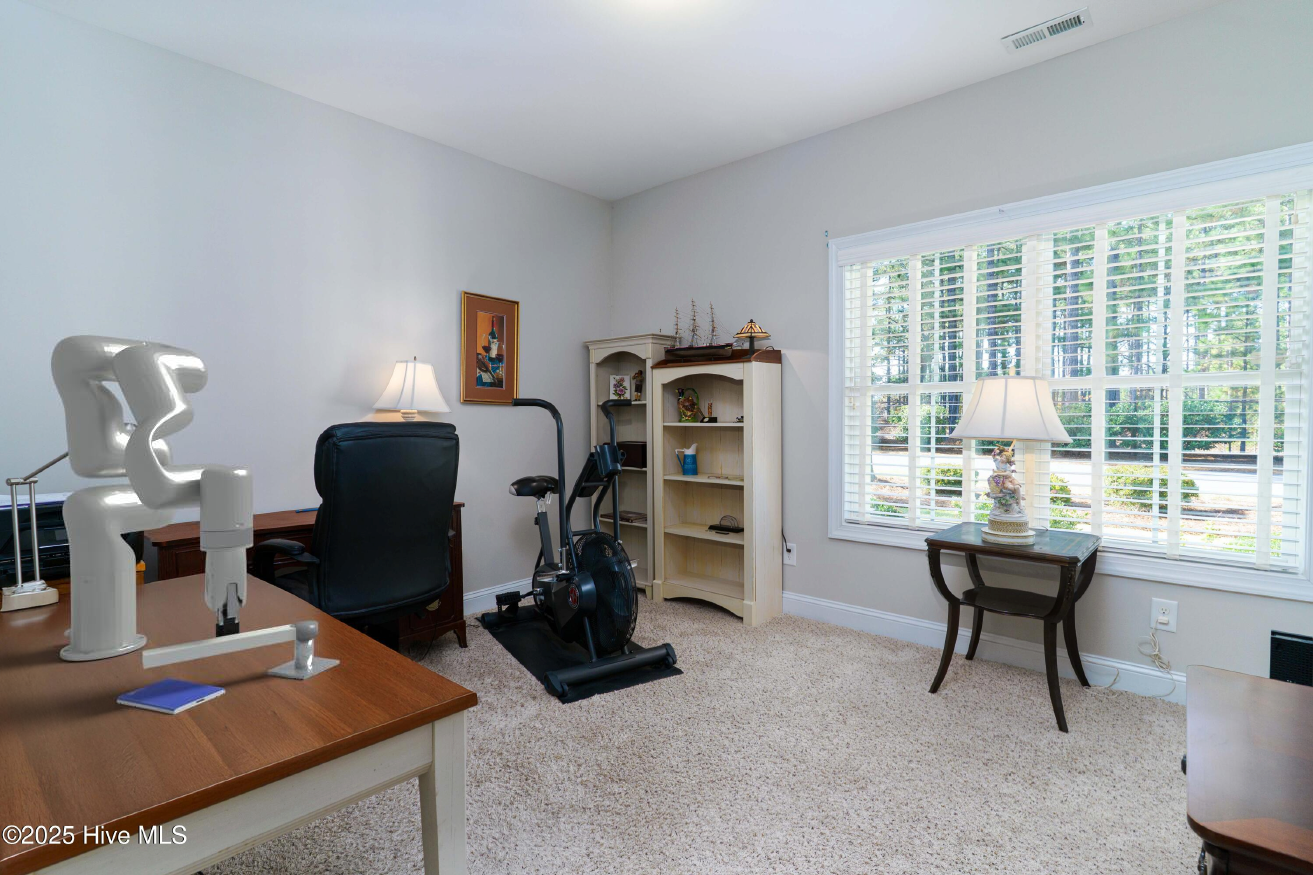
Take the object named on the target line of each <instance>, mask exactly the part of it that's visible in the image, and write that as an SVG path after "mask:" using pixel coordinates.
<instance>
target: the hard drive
mask: <svg viewBox="0 0 1313 875" xmlns="http://www.w3.org/2000/svg"><path fill="white" fill-rule="evenodd" d="M223 693H224V694H225V693H226V688H223V687H219V686H213V685H208V684H203V683H199V682H198V683H197V682H193V681H187V680H182V679H175V678H169V677H168V678H165V679H162V680H160V681H157V682H154V683H151V684H149V685H146V686H143V687H140V688H138V689H134V690H132V691H129V692H126V693H124V694H121V695H119V696H118V697H117V698H116V699H117V700H116V703H117V704H120V703H121V704H122V705H127V706H131V707H135V706H136V707H135V708H141V709H145V710H151V711H157V712H161V713H166V714H170V715H175V714H178V713H180V712H183V711H185V710H187V709H190V708H193V707H195V706H197V705H200V704H203V703H204V702H208V701H209V700H212V699H214V698H216V696H217V697H219V696H221V694H222V695H224V694H223ZM121 704H120V705H121Z"/></svg>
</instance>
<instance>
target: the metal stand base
mask: <svg viewBox="0 0 1313 875" xmlns="http://www.w3.org/2000/svg"><path fill="white" fill-rule="evenodd" d="M314 637H315V636H314ZM314 637H312V638H307V639H299V640H293V641H294V655H293V656H294V659H293V660H290V661H288V662H285V663H283V664H281V665H279V666H276V667H273V668H271V669H268V670H267V671H266V675H269V676H274V675H275V677H281V678H289V679H294V678H296V680H301V679H303V680H302V681H305V680H307V679H309V678H311V677H313V676H316V675H317V674H320V673H322V672H324V671H326V670H328V669H331V668H333V667H335V666H337V665H339V664H340V659H334V658H326V657H319V656H314V655H315V654H314V652H315V651H314V650H315V649H314V648H315V647H314V646H315V645H314V642H315V641H314Z"/></svg>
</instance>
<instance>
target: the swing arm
mask: <svg viewBox="0 0 1313 875" xmlns="http://www.w3.org/2000/svg"><path fill="white" fill-rule="evenodd" d="M318 635H319V622H318V621H317V620H302V621H296V622H294V623H290V624H286V625H279V626H273V627H269V628H263V629H258V630H252V631H245V632H241V633H240V632H239V634H234V635H228V636H222V637H217V638H216V637H212V638H207V639H206V638H205V639H201V640H196V641H195V640H194V641H188V642H185V643H177V644H173V645H167V646H162V647H156V648H150V649H145V650H142V656H141V657H142V658H141V659H142V661H141V662H142V667H143V670H145V669H150V668H151V669H152V668H154V667H155V668H156V667H160V666H166V665H170V664H175V663H182V662H186V661H192V660H198V659H203V658H207V657H212V656H217V655H223V654H229V653H233V652H237V651H238V652H239V651H244V650H248V649H253V648H254V649H255V648H259V647H264V646H265V647H266V646H269V645H275V644H280V643H284V642H285V643H286V642H289V641H290V642H291V641H294V640H299V639H307V638H312V637H316V636H318Z"/></svg>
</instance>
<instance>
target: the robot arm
mask: <svg viewBox="0 0 1313 875" xmlns="http://www.w3.org/2000/svg"><path fill="white" fill-rule="evenodd" d="M50 371H51V376H52V379H53V382H54V385H55V387H56V390H57V392H58V394H59V397H60V399H61V401H62V405H63V409H64V417H65V418H64V419H65V421H64V422H65V428H66V429H65V430H66V431H65V432H66V442H67V453H68V459H69V465H70V468H71V470H72V472H73V473H74V475H76V476H77V477H79V478H82V479H88V480H89V479H92V480H93V479H116V478H117V479H118V478H128V480H129V483H128V484H127V483H126V484H123V483H120V484H108V485H107V484H106V485H95V486H88V487H84V488H80V489H78V490H76V491H74V492H72V493H71V494H69V495H68V496H67V497H66V498H65V500H64V502H63V504H62V518H63V522H64V526H65V529H66V534H67V539H68V544H69V546H68V547H69V561H70V569H69V570H70V572H69V573H70V620H71V621H70V623H71V624H70V628H69V629H66V630H65V631H64V633H63V635H64V637H66V638H69V639H70V640H69V641H70V644H68V645H66V646H64V647H63V648H62V649H61V650H60V651H59V652H60V653H59V657H60V658H61V659H62V660H65V661H72V662H73V661H74V662H81V661H94V660H101V659H107V658H111V657H116V656H121V655H124V654H127V653H131V652H134V651H136V650H138V649H140V648H142V647H144V646H145V645H146V644H147V636H145V635H144V634H141V633H137V571H136V570H137V566H136V564H137V563H136V555H135V552H134V550H133V549H132V547H131V546H130V545H129V544H128V543H127V542H126V541H125V540H124V539H123V537H122V535H121V534H128V533H133V532H140V531H141V532H142V531H148V530H149V531H150V530H155V529H161V528H164V527H166V526H168V525H170V524H171V523H172V522H173V520H174V519H175V517H176V514H177V510H182V509H192V508H193V509H194V508H199V514H200V515H199V532H200V534H199V537H200V538H199V541H200V543H199V544H200V546H199V550H200V551H201V552H206V558H205V573H204V574H205V578H204V579H205V580H204V582H205V583H204V602H205V604H206V605H207V607H208V608H209V610H211V611H212V612H216V618H215V619H216V623H215V638H217V637H222V636H228V635H234V634H239V633H240V621H239V620H240V608H242V607H244V606H245V605H246V603H247V587H248V586H247V584H248V583H247V549H249V548H251V547H253V546H254V482H253V481H254V478H253V472H252V470H251V469H250V468H248V467H245V466H232V465H231V466H228V465H225V464H220V463H199V464H196V463H193V464H191V463H189V464H174V456H173V451H172V447H171V445H170V443H169V441H168V439H167V437H169V436H172V435H174V434H176V433H179V432H180V431H182V430H184V429H185V428H187V427H188V426H189V425H190V424H191V423H192V422H193V420H194V418H195V412H194V409H193V407H192V405H191V403H190V401H189V399H188V396H187V395H186V394H195V393H199V392H200V391H202V390H203V389H204V388H205V387H206V385H207V383H208V379H209V372H208V368H207V365H206V363H205V361H204V360H203V358H202V357H201V356H200V355H199V354H197V353H196V352H194V351H192V350H190V349H184V348H181V347H177V346H172V345H169V344H165V343H160V342H154V341H147V340H138V339H129V338H119V337H111V336H103V335H89V334H88V335H87V334H86V335H85V334H83V335H82V334H81V335H72V336H67V337H64V338H62V339H60V341H58V342H56V344H55V347H54V348H53V350H52V353H51V359H50ZM102 382H114V383H118V386H119V389H121V392H122V395H123V396H124V399H125V401H126V403H127V405H128V408H129V410H130V412H131V414H132V416H133V418H134V420H135V422H136V426H137V427H135V428H134V429H128V428H126V425H125V418H124V408H123V406H122V403H121V402H120V400H119V399H118V398H117V396H116V395H115V394H114V393H113V392H112V391H111V389H109V388H108V387H107V386H106V385H105V384H103V383H102Z"/></svg>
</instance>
